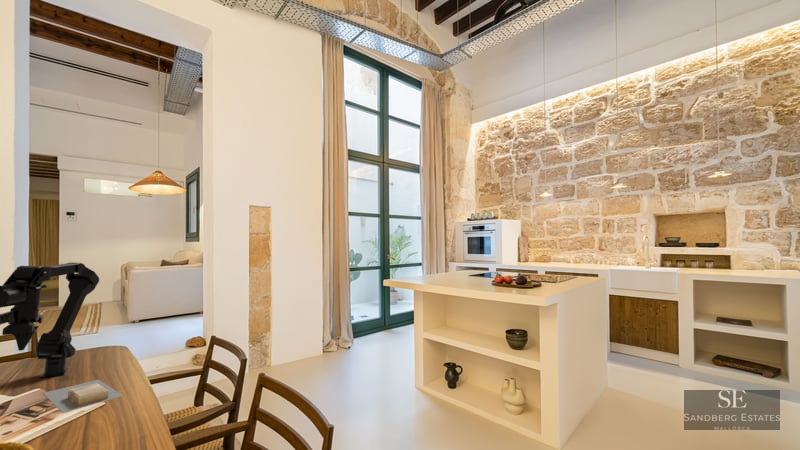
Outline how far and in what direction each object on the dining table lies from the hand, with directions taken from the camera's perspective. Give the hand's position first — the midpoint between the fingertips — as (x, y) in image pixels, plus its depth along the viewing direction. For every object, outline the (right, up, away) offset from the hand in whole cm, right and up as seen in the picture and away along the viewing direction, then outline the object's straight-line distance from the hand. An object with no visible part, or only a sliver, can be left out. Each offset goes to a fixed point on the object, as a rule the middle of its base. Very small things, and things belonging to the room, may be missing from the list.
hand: (21, 350), depth 109 cm
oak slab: (+23, -12, -3) cm, 26 cm away
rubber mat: (+24, -14, -3) cm, 27 cm away
